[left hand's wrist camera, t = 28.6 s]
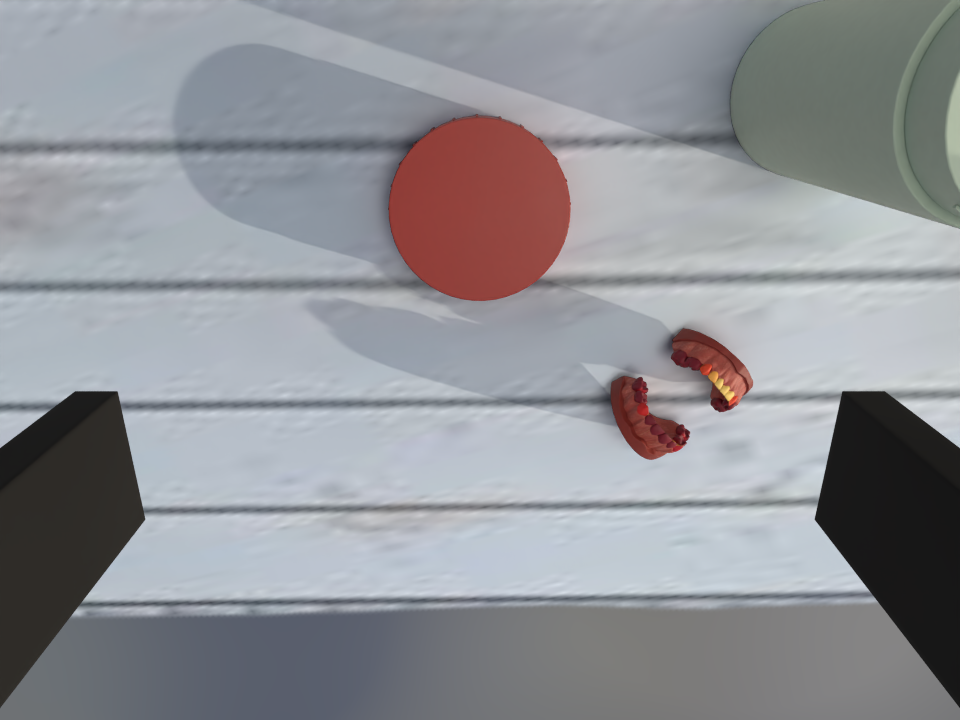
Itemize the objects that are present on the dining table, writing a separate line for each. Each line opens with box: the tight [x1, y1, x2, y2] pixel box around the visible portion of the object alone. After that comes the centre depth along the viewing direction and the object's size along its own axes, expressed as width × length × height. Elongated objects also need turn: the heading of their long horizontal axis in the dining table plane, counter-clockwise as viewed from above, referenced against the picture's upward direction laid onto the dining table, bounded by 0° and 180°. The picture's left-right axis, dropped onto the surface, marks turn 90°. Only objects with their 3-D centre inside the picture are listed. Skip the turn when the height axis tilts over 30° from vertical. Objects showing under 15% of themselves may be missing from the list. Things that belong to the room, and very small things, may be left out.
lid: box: [388, 114, 571, 301], centre depth 38 cm, size 10×10×2 cm
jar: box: [730, 0, 960, 229], centre depth 28 cm, size 9×9×18 cm
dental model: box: [611, 328, 753, 460], centre depth 41 cm, size 6×4×8 cm
